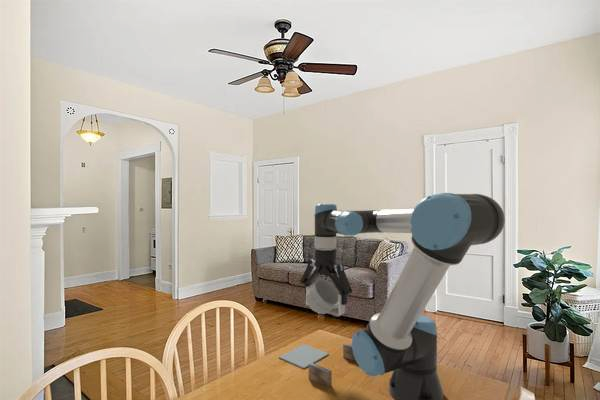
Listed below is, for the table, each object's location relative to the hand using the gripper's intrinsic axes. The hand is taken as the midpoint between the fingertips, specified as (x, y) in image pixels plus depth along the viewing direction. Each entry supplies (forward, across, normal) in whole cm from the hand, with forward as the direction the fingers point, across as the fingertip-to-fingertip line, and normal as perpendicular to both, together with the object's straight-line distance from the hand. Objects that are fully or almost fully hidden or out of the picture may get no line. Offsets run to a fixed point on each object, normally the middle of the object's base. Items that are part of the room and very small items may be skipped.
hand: (324, 309), depth 117 cm
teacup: (0, +3, +1) cm, 3 cm away
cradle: (+19, -6, 0) cm, 20 cm away
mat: (+19, +9, 0) cm, 21 cm away
